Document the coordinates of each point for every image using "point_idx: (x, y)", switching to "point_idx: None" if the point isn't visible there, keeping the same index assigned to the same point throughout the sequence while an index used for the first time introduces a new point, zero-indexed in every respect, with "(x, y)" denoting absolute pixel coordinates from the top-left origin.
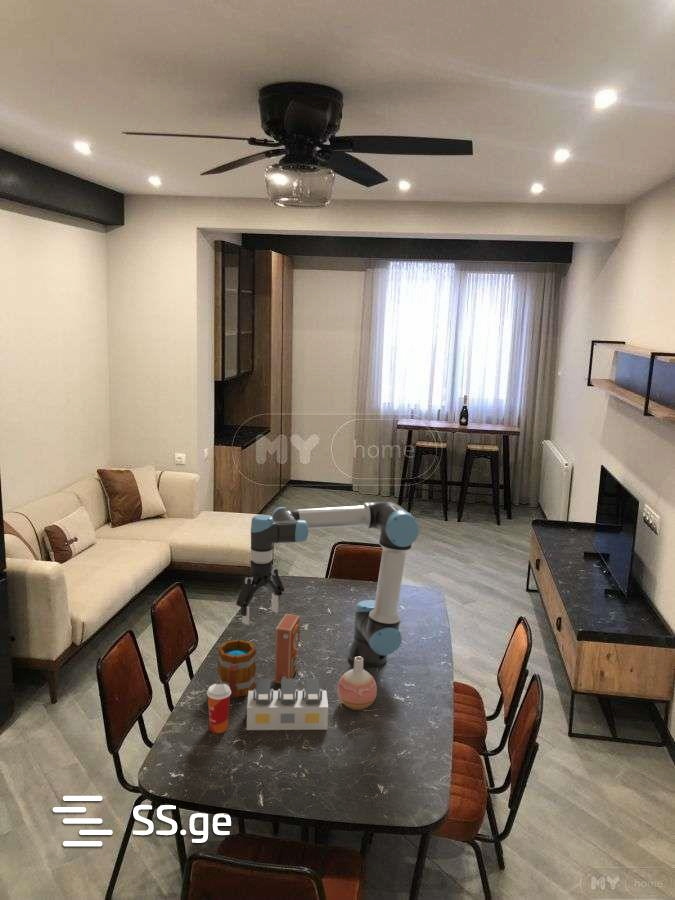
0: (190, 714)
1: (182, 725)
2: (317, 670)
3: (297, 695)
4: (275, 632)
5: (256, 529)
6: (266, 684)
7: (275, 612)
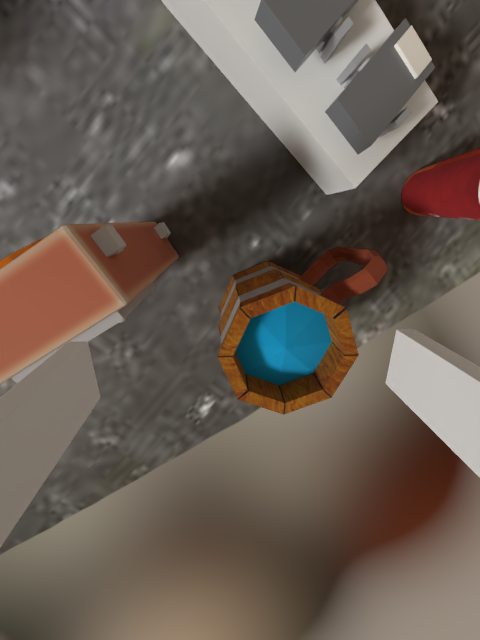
0: (413, 286)
1: (455, 263)
2: (33, 221)
3: None
4: (129, 312)
5: None
6: (365, 90)
7: (89, 355)
